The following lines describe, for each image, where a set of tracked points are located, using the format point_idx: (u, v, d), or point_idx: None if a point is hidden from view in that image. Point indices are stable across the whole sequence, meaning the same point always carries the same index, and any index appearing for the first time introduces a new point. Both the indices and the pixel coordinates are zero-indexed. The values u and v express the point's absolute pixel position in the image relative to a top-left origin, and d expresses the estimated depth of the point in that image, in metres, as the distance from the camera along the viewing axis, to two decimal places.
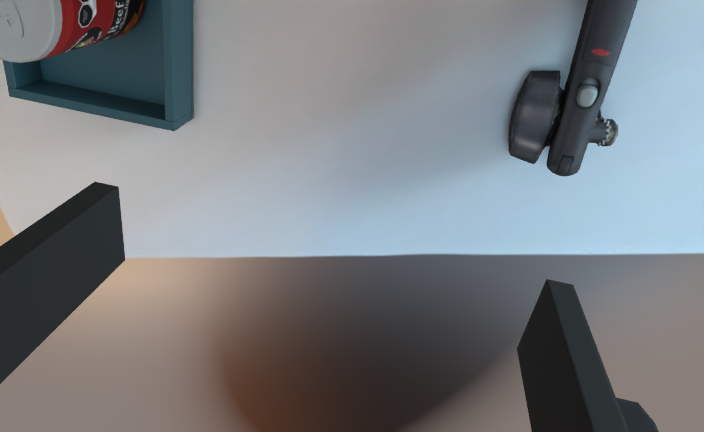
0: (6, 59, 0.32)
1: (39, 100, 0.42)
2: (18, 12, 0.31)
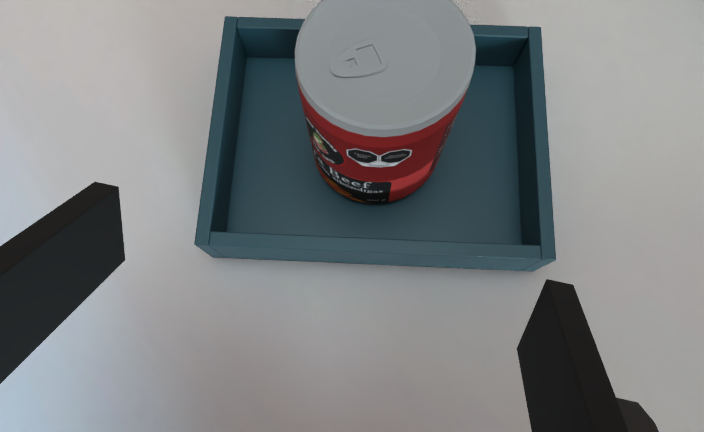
0: (298, 46, 0.22)
1: (222, 55, 0.30)
2: (365, 74, 0.22)
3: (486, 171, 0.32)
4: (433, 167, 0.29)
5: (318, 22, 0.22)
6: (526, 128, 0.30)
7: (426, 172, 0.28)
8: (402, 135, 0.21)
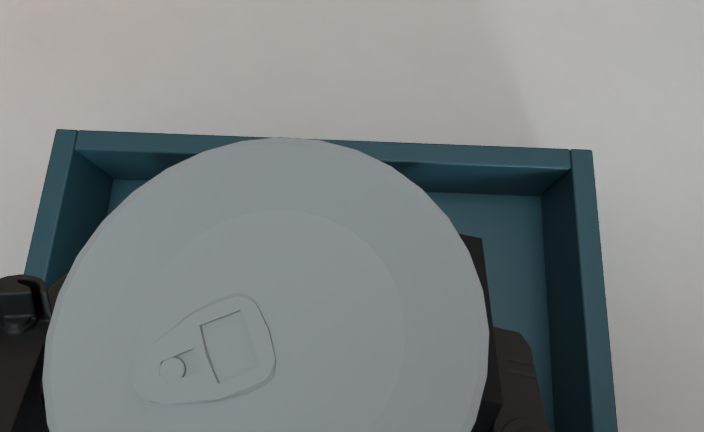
0: (53, 326, 0.09)
1: (44, 200, 0.18)
2: (219, 394, 0.09)
3: None
4: None
5: (114, 254, 0.09)
6: (568, 328, 0.18)
7: None
8: None
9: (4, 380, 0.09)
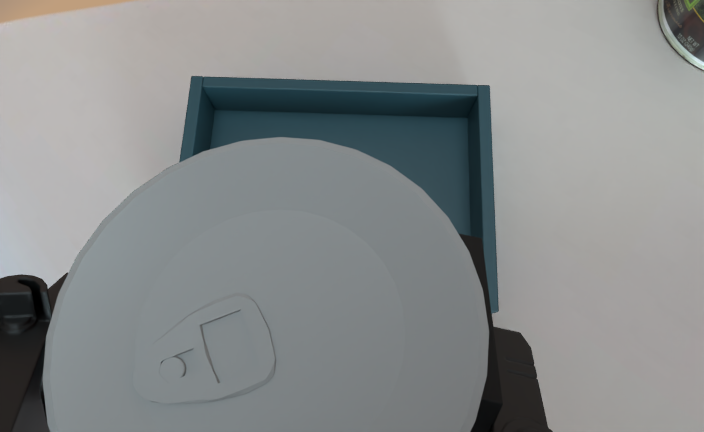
0: (53, 325, 0.09)
1: (188, 114, 0.32)
2: (219, 393, 0.09)
3: None
4: None
5: (114, 254, 0.09)
6: (475, 182, 0.32)
7: None
8: None
9: (4, 380, 0.09)
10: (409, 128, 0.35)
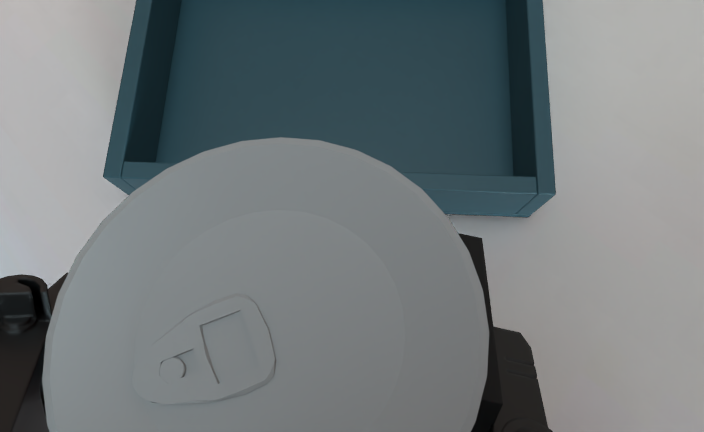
0: (53, 326, 0.09)
1: None
2: (219, 394, 0.09)
3: (471, 99, 0.26)
4: None
5: (114, 254, 0.09)
6: (519, 42, 0.25)
7: None
8: None
9: (4, 380, 0.09)
10: None
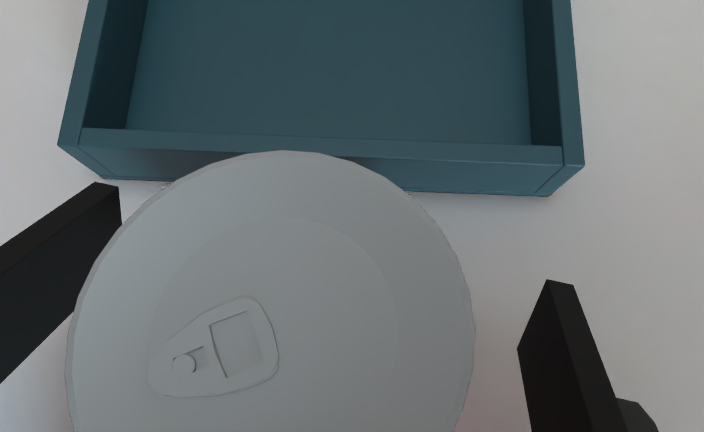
0: (74, 326, 0.10)
1: None
2: (227, 387, 0.10)
3: (483, 64, 0.23)
4: None
5: (129, 259, 0.10)
6: None
7: None
8: None
9: None
10: None
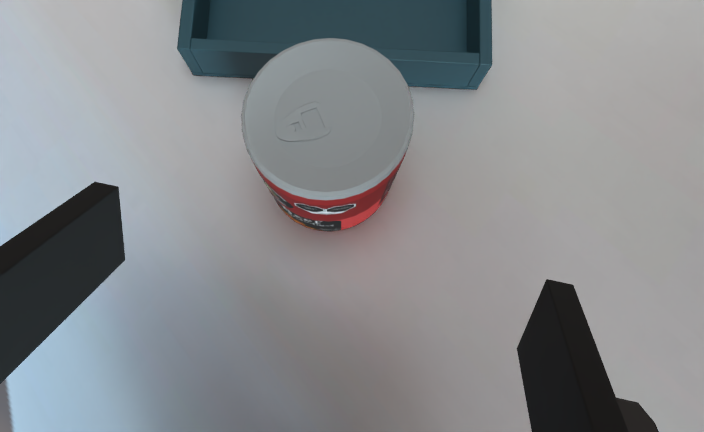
0: (244, 111, 0.23)
1: None
2: (309, 138, 0.23)
3: (438, 3, 0.35)
4: (383, 199, 0.31)
5: (264, 85, 0.23)
6: None
7: (375, 207, 0.30)
8: (343, 198, 0.23)
9: None
10: None
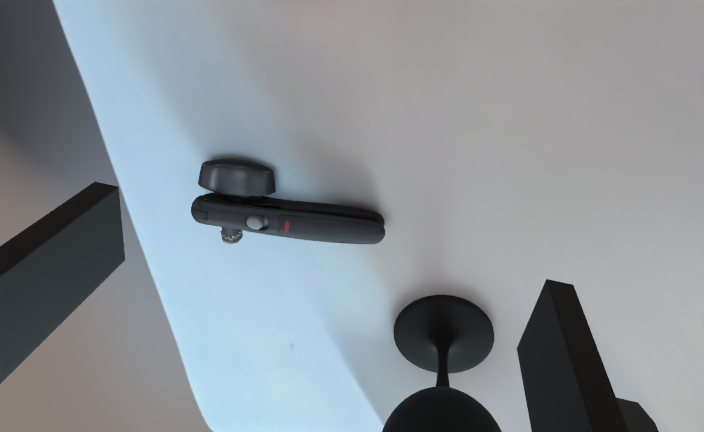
0: None
1: None
2: None
3: None
4: None
5: None
6: None
7: None
8: None
9: None
10: None
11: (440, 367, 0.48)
